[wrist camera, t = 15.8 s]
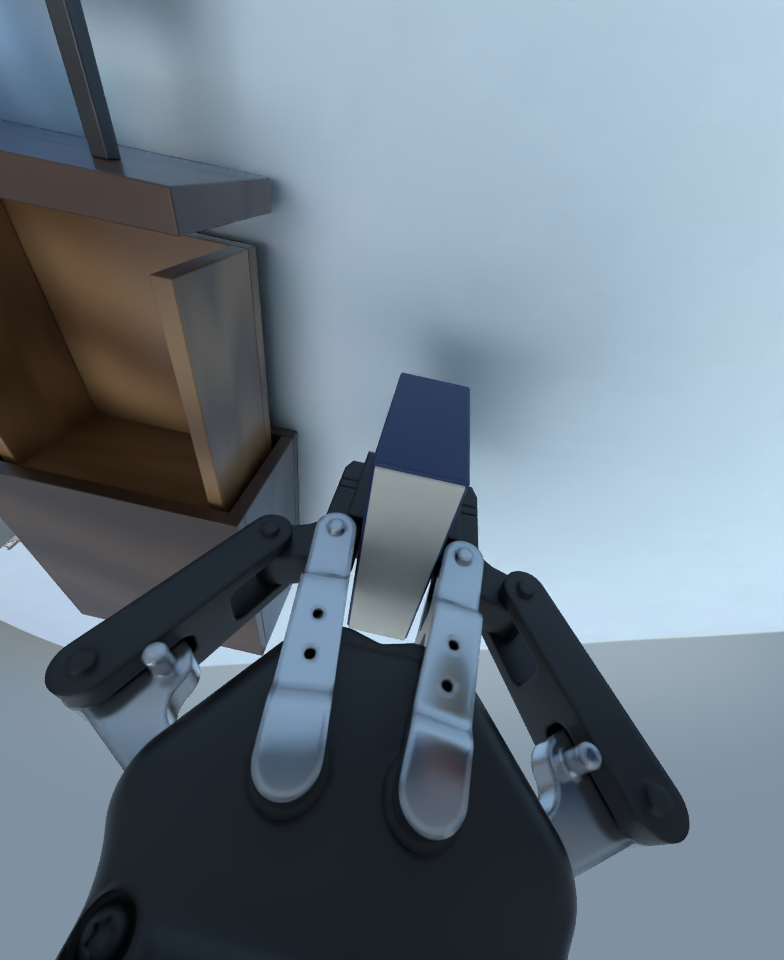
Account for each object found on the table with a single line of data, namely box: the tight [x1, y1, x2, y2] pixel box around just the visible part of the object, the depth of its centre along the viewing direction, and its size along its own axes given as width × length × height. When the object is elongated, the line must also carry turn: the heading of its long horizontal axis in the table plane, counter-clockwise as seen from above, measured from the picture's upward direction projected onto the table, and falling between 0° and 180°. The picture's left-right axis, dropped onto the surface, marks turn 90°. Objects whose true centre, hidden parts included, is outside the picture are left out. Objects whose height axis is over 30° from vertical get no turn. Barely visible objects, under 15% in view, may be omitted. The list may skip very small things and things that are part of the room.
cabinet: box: [0, 426, 299, 655], centre depth 27 cm, size 16×15×9 cm
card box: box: [347, 373, 470, 640], centre depth 13 cm, size 8×2×5 cm, turn 171°
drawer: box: [0, 0, 272, 513], centre depth 16 cm, size 20×13×7 cm
